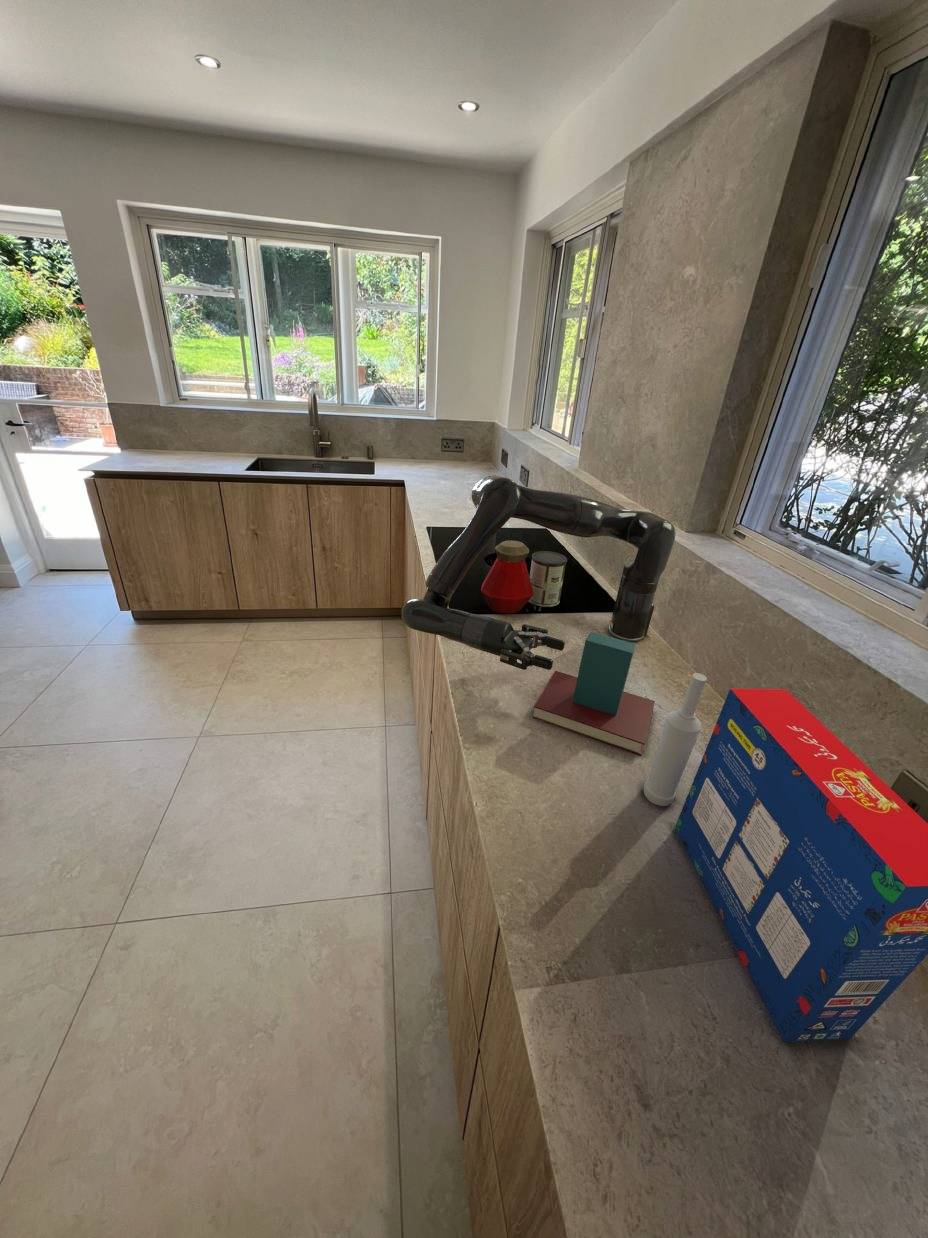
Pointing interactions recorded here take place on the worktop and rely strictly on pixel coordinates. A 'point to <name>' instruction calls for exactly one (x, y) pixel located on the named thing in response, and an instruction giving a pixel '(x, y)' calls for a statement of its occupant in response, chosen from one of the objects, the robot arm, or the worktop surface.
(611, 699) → the teal rectangular block
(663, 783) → the bottle
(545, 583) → the coffee can
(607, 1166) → the worktop surface
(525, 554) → the red lidded jar
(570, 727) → the oxblood cookbook
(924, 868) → the pasta box
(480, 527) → the robot arm
